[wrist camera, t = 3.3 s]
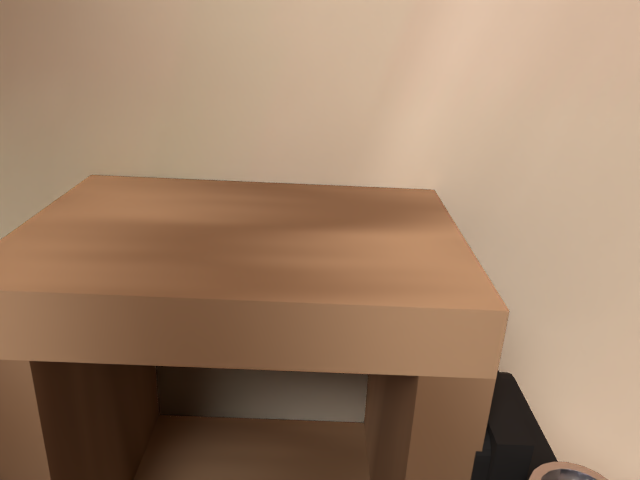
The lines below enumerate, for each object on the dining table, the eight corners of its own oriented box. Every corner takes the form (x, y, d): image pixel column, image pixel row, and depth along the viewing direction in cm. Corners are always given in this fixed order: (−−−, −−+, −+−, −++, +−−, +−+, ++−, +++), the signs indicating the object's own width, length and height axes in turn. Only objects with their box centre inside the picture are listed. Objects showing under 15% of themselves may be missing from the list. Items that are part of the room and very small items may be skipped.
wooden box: (434, 189, 12) (508, 311, 7) (400, 456, 14) (439, 672, 10) (90, 175, 11) (-66, 287, 7) (122, 445, 14) (23, 659, 9)
